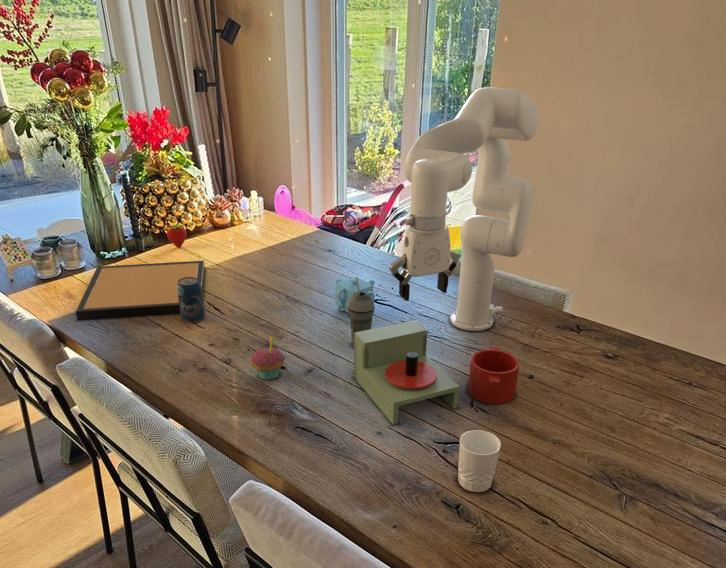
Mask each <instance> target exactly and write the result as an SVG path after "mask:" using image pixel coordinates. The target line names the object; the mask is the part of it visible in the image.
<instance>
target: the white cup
mask: <svg viewBox="0 0 726 568" xmlns="http://www.w3.org/2000/svg"><path fill="white" fill-rule="evenodd" d="M501 447H502V443H501V440H500V439H499V437H498V436H496V435H495V434H494V433H492V432H489V431H487V430H481V429H474V430H468V431H466V432H464V433H462V435H461V436H460V437H459V448H458V463H457V465H458V467H457V469H458V474H457V481H458V483H459V486H461V487H462V488H463V489H464V490H467V491H469V492H472V493H482V492H486V491H488V490H489V489H490V488H491V487H492V485H493V480H494V476H495V474H496V470H497V466H498V461H499V458H500V452H501Z"/></svg>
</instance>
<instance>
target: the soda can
mask: <svg viewBox="0 0 726 568" xmlns="http://www.w3.org/2000/svg"><path fill="white" fill-rule="evenodd" d="M176 288H177V294H178V300H179V306H180V312H181V313H180V317H181V318H182V319H183V321H184V322H186V323H189V324H190V323H193V324H194V323H198V322H200V321H202V320H204V318H205V315H206V311H205V303H204V297H203V293H202V289H201V284H200V283H199V282H198V279H197V278H194V277H185V278H181V279H179V280H178V284H177V287H176Z"/></svg>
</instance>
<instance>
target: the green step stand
mask: <svg viewBox="0 0 726 568" xmlns="http://www.w3.org/2000/svg"><path fill="white" fill-rule="evenodd" d="M427 343H428V329H427V328H426V327H425V326H424V325H422V324H421V323H420V321H418V320H416V319H415V320H408V321H404V322H400V323H395V324H390V325H386V326H380V327H375V328H371V329H370V330H365V331H360V332H355V333H354V347H353V348H354V349H353V350H354V358H353V359H354V364H353V365H354V373H353V374H354V375H353V376H354V377H353V378H354V379H355V380H356V382H357V383H358V384H359V386H360V387H362V389H363V390H364V392H365V393H366V394H367V395H368V396H369V398H371V400H372V401H373V402H374V404H376V406H377V408H378V409H380V411H381V413H383V414H384V416H385V417H386V418H387V420H388V421H389V422H390V423H391V424H392V425H396V424H398V423H399V422H398V419H399V407H400V406H405V405H408V404H412V403H417V402H420V401H423V400H428V399H431V398H435V397H440V398H441V399H442V400H443V401H444V402H446V403H447V405H449V407H451V409H453V410H455V409H457V408H458V405H459V393H460V385H459V384H457V383H456V382H455V380H454V379H452V378H451V377H450V376H449V375H448V374H447V373H446V372H445V371H444V370H443V369H441V367H439V366H438V365H437V364H436V363H435V362H434V361H433V360H432V359H431V358H430V357H429V356H428V355H427V345H428V344H427ZM408 352H415V353H417V354H418V361H420V362H423V363H426V364H428V365H430V366H432V367H433V368H434V369H435V370H436V372H437V379H436V381H435V382H434V383H433V384H432V385H430V386H428V387H426V388H422V389H404V388H400V387H397V386H395V385H393V384H391V383H390V382H389V381H388V380H387V379H386V377H385V371H386V369H387V368H388V367H389V366H390V365H391V364H393V363H396V362H399V361H406V354H407V353H408Z"/></svg>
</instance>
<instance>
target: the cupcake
mask: <svg viewBox="0 0 726 568" xmlns="http://www.w3.org/2000/svg"><path fill="white" fill-rule="evenodd" d="M269 340H270V341H269V347H263V348H260V349H258V350H256V351H254V352H253V353H252V354H251V356H250V365H251V367H252V368H253V369H256V371H257V373H258V375H259V377H260V378H261V379H262V380H263V379H264V380H274V379H276V378H278V377H279V374H280V371H281V368H282V367H283V365H284V364H285V360H286V357H285V355H284V354H283V352H282V351H280V350H279V349H277V348H273V346H274V334H272V335H271V336H270V339H269Z"/></svg>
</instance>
